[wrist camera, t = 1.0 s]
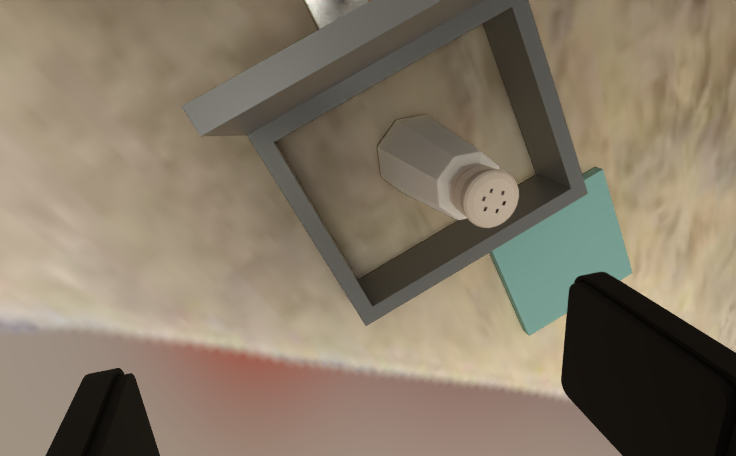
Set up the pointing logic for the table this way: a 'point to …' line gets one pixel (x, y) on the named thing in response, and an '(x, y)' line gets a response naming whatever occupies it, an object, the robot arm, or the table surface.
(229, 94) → the lid
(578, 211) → the pad
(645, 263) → the table surface
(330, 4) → the post
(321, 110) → the case
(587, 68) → the table surface
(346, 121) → the table surface
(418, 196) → the salt shaker
